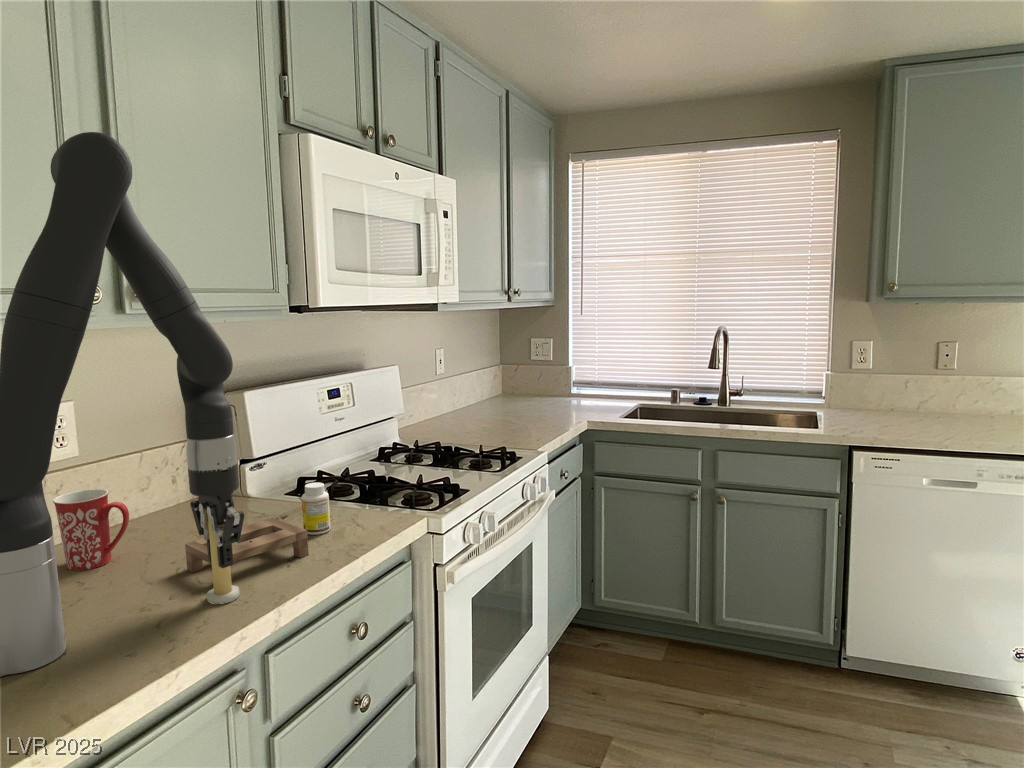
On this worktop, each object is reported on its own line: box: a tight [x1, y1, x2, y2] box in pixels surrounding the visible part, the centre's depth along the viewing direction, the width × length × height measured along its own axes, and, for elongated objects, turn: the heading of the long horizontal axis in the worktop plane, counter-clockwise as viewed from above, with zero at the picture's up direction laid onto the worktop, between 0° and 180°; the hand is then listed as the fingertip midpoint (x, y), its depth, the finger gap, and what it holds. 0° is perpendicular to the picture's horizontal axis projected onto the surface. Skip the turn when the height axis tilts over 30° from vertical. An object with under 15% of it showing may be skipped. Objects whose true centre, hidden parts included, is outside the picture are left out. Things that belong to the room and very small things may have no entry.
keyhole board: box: [184, 517, 309, 573], centre depth 131 cm, size 18×12×5 cm, turn 140°
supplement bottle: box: [301, 482, 331, 536], centre depth 147 cm, size 6×6×10 cm
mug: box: [52, 488, 130, 571], centre depth 132 cm, size 13×9×14 cm
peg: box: [206, 516, 241, 604], centre depth 115 cm, size 5×5×15 cm
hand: (220, 563), depth 115 cm, fingers closed on peg, 2 cm apart
